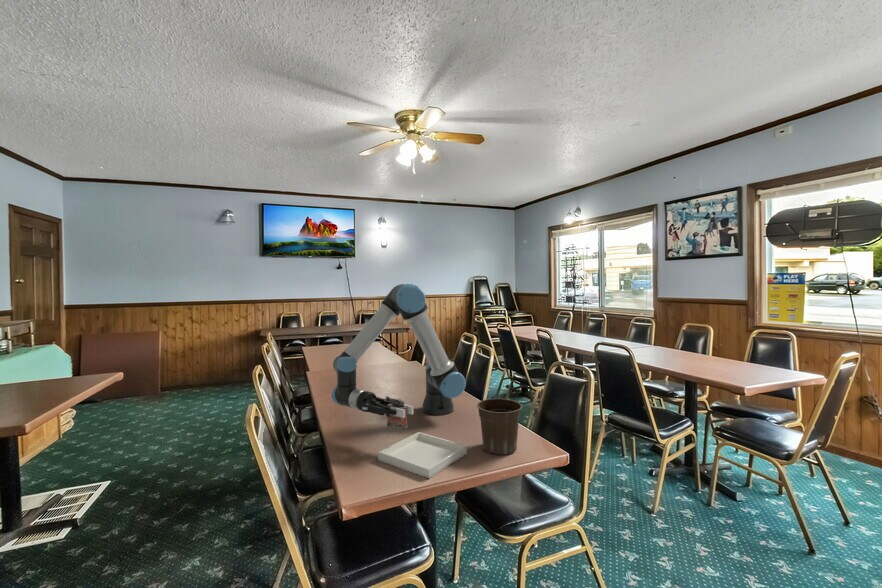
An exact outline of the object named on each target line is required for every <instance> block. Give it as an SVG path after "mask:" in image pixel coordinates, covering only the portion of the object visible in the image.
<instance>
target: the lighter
mask: <svg viewBox="0 0 882 588" xmlns="http://www.w3.org/2000/svg"><path fill="white" fill-rule="evenodd" d="M389 402H392V404H388V405H387V406H388V407H389V408H390V407H391V406H392V407H396V408H400V409H404V410H405V418H401V417H398V416H394V415H390V414H389V417H387V423H386V424H387V425H386V426H387V427H390V428H394V429H400V430H406V429H408V413H407V406H404V404H405V400H404V399H401V398H394V397H393V398H392V397H390V399H389Z"/></svg>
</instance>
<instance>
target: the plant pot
mask: <svg viewBox="0 0 882 588" xmlns="http://www.w3.org/2000/svg"><path fill="white" fill-rule="evenodd" d="M476 407H477V408H478V416H479V418H480V427H481V437H482V448H483V449H484V451H485V452H487V453H489V454H492V453H493V454H494V455H496V454H498V456H506V455H511V454H514V452H515V451H517V445H518V435H519V433H518V431H519V423H520V418H521V410H522V409H523V405H522V404H521V403H520V402H518V401H516V400H512V399H507V398H486V399H484V400H480V401H478V402H477V404H476Z"/></svg>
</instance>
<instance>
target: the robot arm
mask: <svg viewBox="0 0 882 588" xmlns="http://www.w3.org/2000/svg"><path fill="white" fill-rule="evenodd" d="M426 300H427V298H426V295H425V292H424V290H423V289H422V288H421V287H419V286H418V285H416V284H413V283H406V284H405V283H403V284H402V283H401V284H397V285H396V286H394V287H393V288H392V289H390V291H389V293H388V294H387V295H386V296H385V298H384V299H383V300H382V301H381V302H380V307H379V308H378V310H377V311H376V312H375V313H374V314H373V316H372V317H371V318H370V319H369V320H368V321H367V323H366V324H365V325H364V326H363V327H362V328H361V330H360V331H359V332H358V333H357V334H356V336H355V337H354V338H353V339H352V340H351V341H350V343H349V344H348V345H347V347H346V348H345V349H344V350H343V352H341V354H340V355H338V356H336V357H335V358H334V360H333V362H332V368H333V370H334V372H335V373H336V381H337V382H336V386H335V387H334V388H333V390H332V392H331V399H332V401H333V402H334V403H335V404H338V405H340V406H342V407H343V406H344V407H348V408H351V409H354V410H357V411H361V412H364V413H370V414H375V415H378V416H382V417H383V416H385V415H386V416H385V417H387V418H388V417H389V414H390V415H394V416H398V417H401V418H405V410H404V409H400V408H396V407H392V406H391V407H390V408H389V407H388V406H387V405H388V404H392V402H389V399H390V398H391V397H389V396H385V398H382V397H377V395H376V394H375V393H374V392H371V391H367V390H364V389H360V388H357V367H358V365H357V363H358V362H359V360H360V359H361V358H362V356H363V355H364V354H365V353H366V352H367V351H368V349H369V348H370V347H371V346H372V344H373V343H374V342H375V341H376V340H377V338H378V337H379V336H380V334H381V333H382V332H383V331H384V330H385V328H386V327H387V326H388V325H389V324H390V323H391V321H392V320H393V319H394V318H397V317H398V316H401V317H402V319H403V320H404V321H406V322H408V324H409V326H410V327H411V330H412V332H413V333H414V336H415V338H416V340H417V341H418V345H420V348H421V350H422V353H423V355H424V356H425V359H426V360H427V362H428V363H426V365H425V396H424V399H423V403H422V408H421V410H422V412H423V413H425V414H426V415H427V414H428V415H435V416H439V415H441V416H442V415H449V414H451V413H453V412H454V410H455V408H454V407H455V406H454V401H453V400H452V399H455V398H457V397H459V396H460V395H462V394H463V392H464V391H465V389H466V384H467V383H466V381H467V380H466V378H465V376H464V375H463V374H462V373H461V372H459V370H458V368H457V365H456V364H455V362H454V361H453V360H450V359H449V357H448V356H447V353H446V351H445V349H444V347H443V345H442V343H441V341H440V338H439V337H438V335H437V332H436V330H435V328H434V326H433V324H432V322H431V319H430V318H429V316H428V314H427V313H428V310H429V307H428V306H427V303H426ZM404 406H407V415H414V406H412V405H408V404H405V403H404Z"/></svg>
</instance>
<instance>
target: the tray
mask: <svg viewBox="0 0 882 588" xmlns="http://www.w3.org/2000/svg"><path fill="white" fill-rule="evenodd" d="M377 453H378V454H377V461H379V462H381V463H384V464H386V463H387V464H386V465H389V464H390V466H392V465H393V466H392V467H394V466H396V467H395V468H397V467H398V468H397V469H400V468H401V469H400V470H403V469H404V470H403V471H405V470H407V471H406V472H408V471H409V473H411V472H412V473H411V474H413V473H415V474H414V475H416V474H418V475H417V476H419V475H420V476H419V477H421V476H423V477H422V478H424V477H426V478H425V479H427V478H431V477H432V476H433V475H435V474H436V473H438V472H439V471H440V470H442V469H444V468H445V467H447V466H448V465H450V464H452V463H453V462H455V461H456V462H457V460H458V459H459V460H461V459H462V458H464V457H465V456H467V455H468V445H466V444H462V443H459V442H455V441H452V440H448V439H445V438H441V437H437V436H435V435H430V434H428V433H424V432H420V431H418V432H416V433H414V434H411V435H410V436H407V437H405V438H404V439H401V440H400V441H397V442H395V443H393V444H392V445H391V444H390V445H389V446H387V447H385V448H383V449H381V450H379V451H378V452H377ZM464 455H465V456H464ZM461 457H462V458H461ZM459 460H458V461H459ZM456 462H455V463H456ZM453 464H454V463H453ZM453 464H452V465H453ZM450 466H451V465H450ZM447 468H448V467H447ZM444 470H445V469H444ZM438 474H439V473H438ZM435 476H436V475H435ZM432 478H433V477H432ZM432 478H431V479H432Z"/></svg>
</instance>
